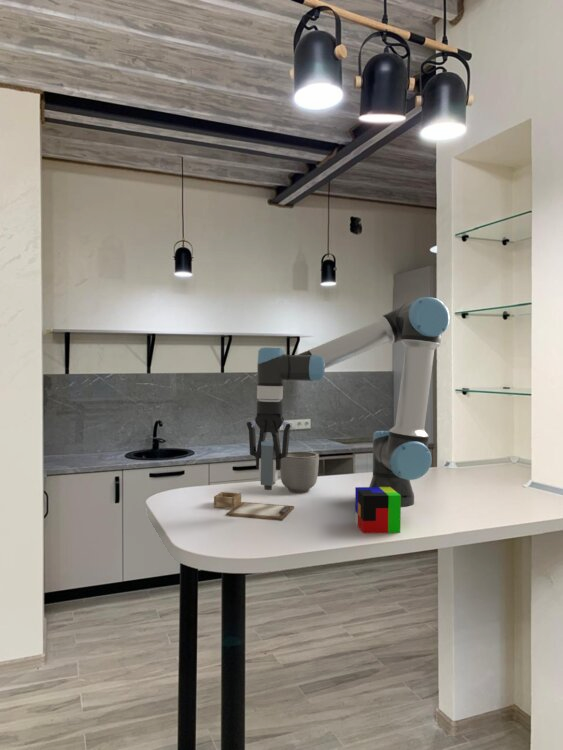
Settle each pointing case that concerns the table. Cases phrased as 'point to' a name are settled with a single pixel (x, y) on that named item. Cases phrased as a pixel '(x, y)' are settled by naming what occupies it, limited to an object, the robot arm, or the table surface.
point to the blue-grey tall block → (267, 464)
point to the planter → (299, 471)
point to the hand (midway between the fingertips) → (268, 480)
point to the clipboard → (261, 511)
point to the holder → (227, 500)
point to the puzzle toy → (377, 509)
